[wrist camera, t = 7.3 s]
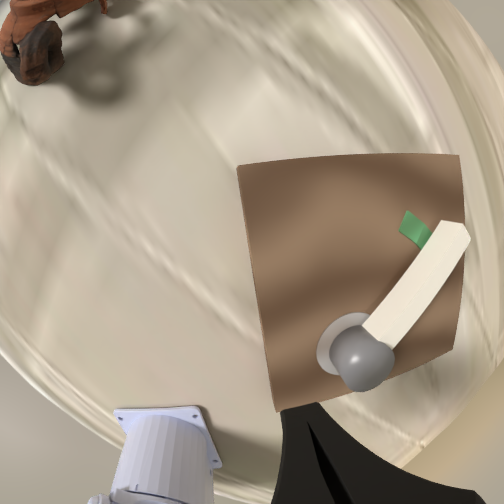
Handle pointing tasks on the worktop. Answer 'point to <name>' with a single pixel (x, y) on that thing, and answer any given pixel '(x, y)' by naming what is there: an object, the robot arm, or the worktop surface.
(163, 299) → the worktop surface
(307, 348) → the brown flat square board
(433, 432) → the worktop surface
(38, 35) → the pottery mug
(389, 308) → the peg lever
